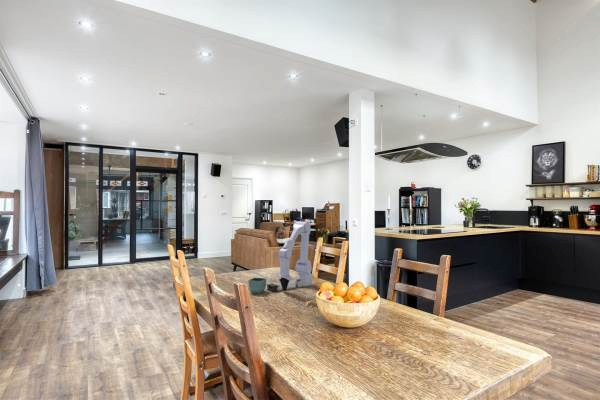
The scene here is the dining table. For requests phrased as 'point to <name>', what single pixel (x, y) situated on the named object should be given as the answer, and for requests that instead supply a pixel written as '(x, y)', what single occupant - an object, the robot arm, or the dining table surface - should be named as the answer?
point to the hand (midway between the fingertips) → (284, 290)
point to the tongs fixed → (297, 282)
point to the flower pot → (257, 285)
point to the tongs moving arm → (279, 286)
